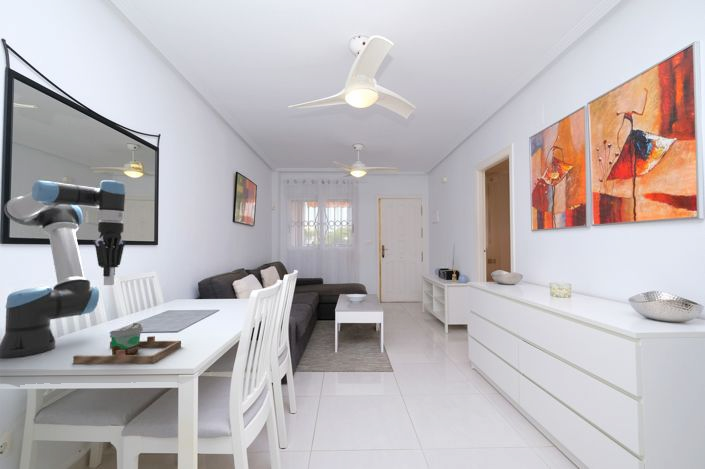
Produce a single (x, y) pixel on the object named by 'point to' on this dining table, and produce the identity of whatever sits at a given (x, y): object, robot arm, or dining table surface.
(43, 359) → the dining table surface
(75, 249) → the robot arm
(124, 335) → the food container
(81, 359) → the slot rails
